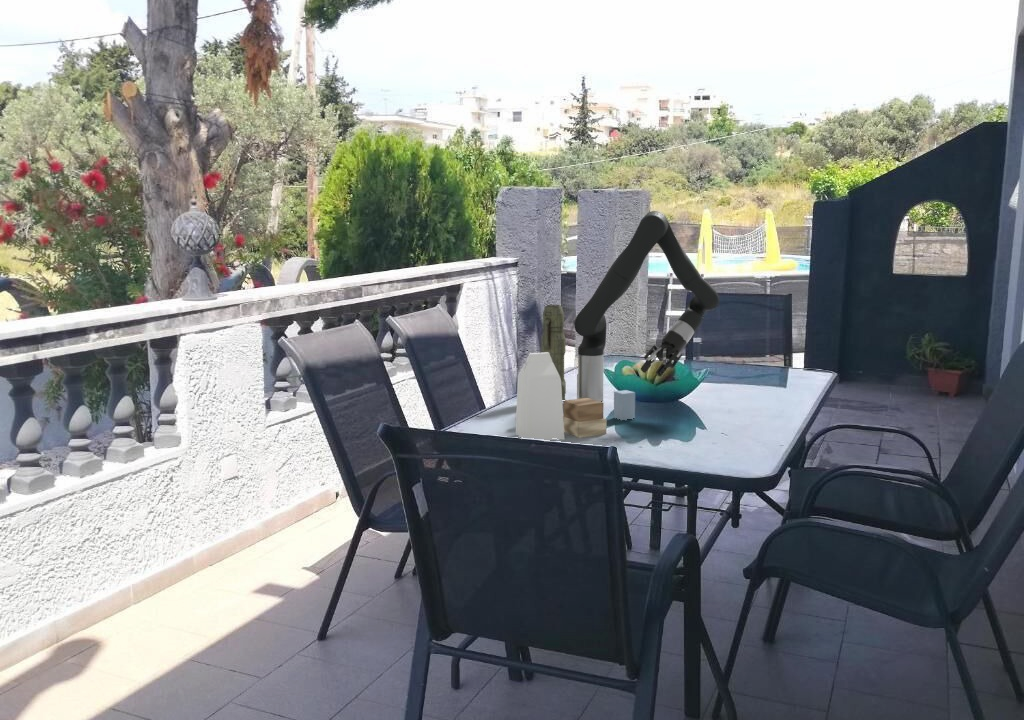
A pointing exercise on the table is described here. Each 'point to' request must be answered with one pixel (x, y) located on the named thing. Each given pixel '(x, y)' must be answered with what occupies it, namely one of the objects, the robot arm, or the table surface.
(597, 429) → the tower bottom block
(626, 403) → the slate block
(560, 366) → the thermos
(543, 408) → the milk
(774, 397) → the table surface
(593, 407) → the tower top block
